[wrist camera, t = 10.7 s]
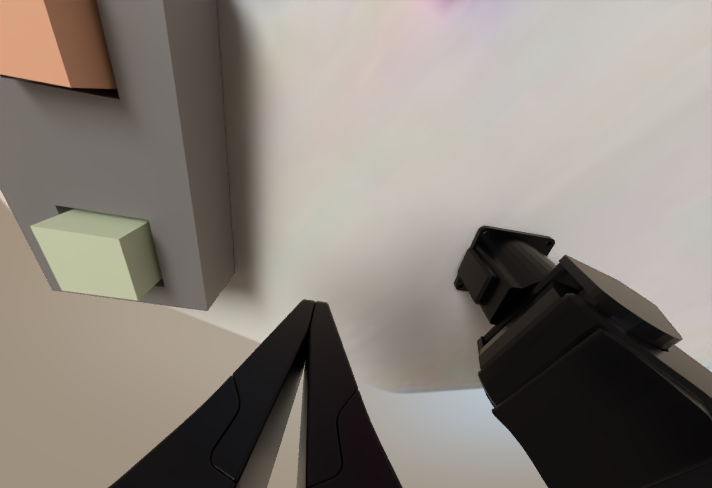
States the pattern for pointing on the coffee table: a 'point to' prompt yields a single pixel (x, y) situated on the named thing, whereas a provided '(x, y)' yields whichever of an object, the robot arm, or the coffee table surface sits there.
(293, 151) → the coffee table surface
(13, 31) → the terracotta key
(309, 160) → the coffee table surface
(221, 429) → the robot arm
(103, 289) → the sage key
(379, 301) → the coffee table surface
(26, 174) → the keypad
